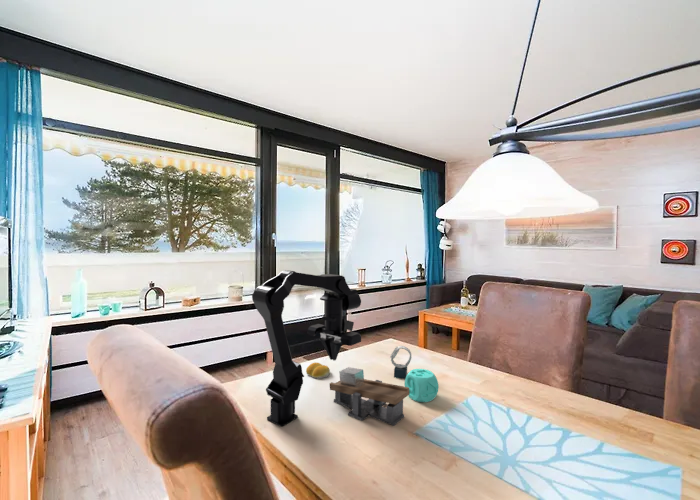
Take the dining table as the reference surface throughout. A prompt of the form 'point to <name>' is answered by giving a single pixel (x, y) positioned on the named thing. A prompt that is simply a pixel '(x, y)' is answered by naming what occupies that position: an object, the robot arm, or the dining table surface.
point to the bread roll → (318, 370)
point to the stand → (370, 408)
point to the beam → (375, 391)
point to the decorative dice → (421, 385)
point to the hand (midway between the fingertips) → (333, 359)
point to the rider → (352, 377)
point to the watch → (399, 369)
